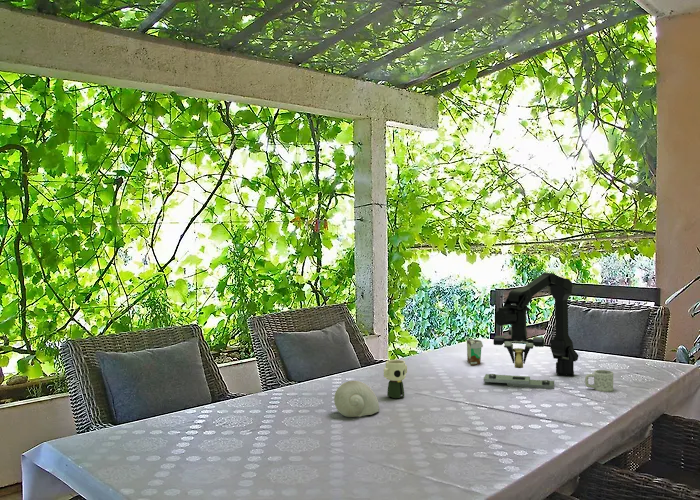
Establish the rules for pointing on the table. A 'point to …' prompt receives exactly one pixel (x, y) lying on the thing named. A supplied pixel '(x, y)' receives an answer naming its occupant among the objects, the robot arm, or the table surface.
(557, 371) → the robot arm
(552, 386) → the plate with square hole
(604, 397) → the table surface
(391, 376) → the character mug
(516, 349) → the brass pin
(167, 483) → the table surface
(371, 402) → the seashell
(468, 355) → the food container
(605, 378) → the mug
